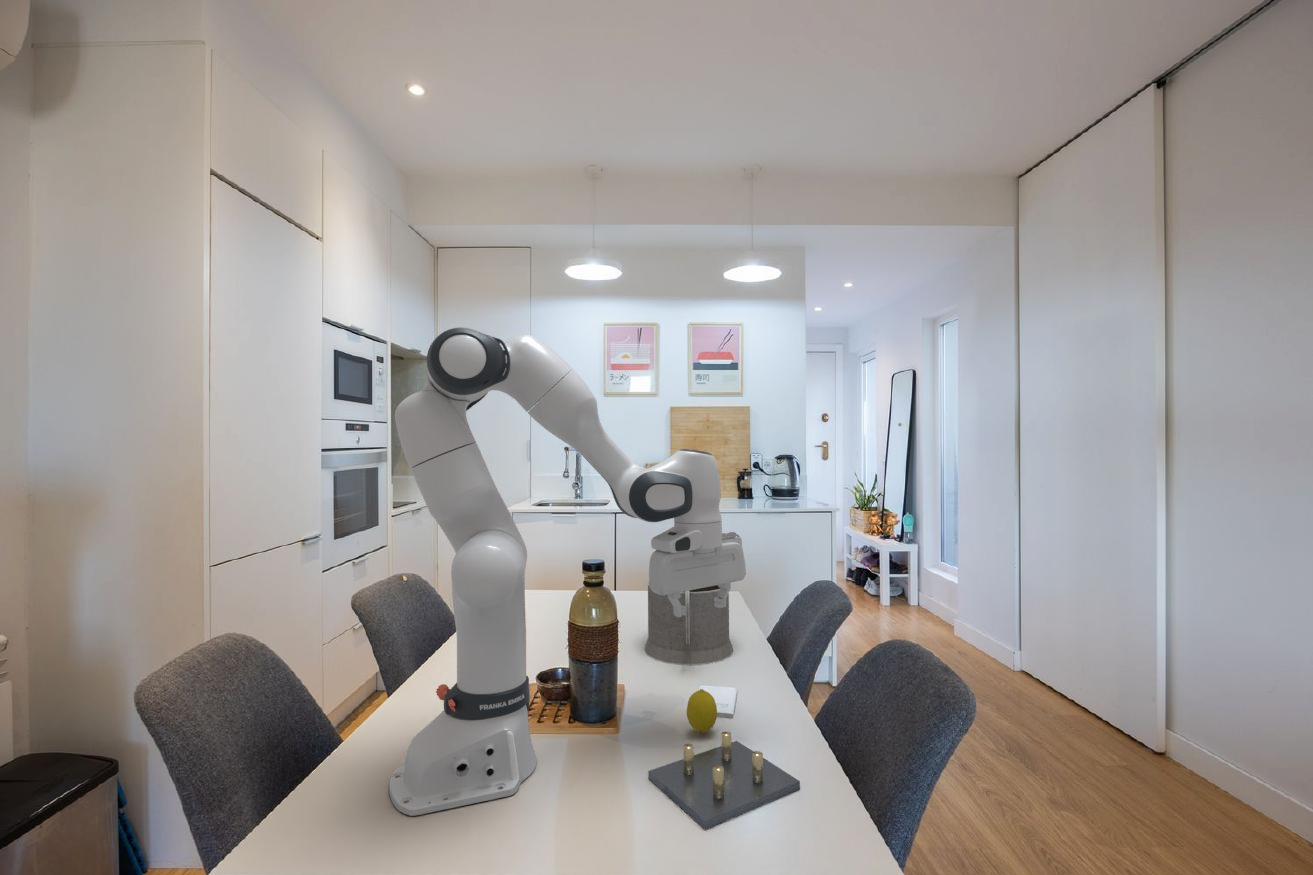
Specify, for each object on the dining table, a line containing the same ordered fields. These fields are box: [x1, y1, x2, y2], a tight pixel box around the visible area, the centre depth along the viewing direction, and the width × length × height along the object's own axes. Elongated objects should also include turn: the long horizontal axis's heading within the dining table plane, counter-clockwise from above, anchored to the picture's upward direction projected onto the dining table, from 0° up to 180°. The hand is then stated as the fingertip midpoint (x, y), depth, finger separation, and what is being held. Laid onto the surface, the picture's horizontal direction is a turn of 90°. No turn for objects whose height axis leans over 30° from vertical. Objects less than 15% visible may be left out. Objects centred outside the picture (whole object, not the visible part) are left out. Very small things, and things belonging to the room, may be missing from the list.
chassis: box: [647, 731, 801, 831], centre depth 92 cm, size 18×15×5 cm
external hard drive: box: [697, 685, 738, 719], centre depth 121 cm, size 2×8×12 cm
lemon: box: [686, 689, 718, 735], centre depth 108 cm, size 6×6×8 cm
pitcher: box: [643, 581, 735, 666], centre depth 150 cm, size 23×32×25 cm
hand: (700, 611), depth 109 cm, fingers open, 8 cm apart
